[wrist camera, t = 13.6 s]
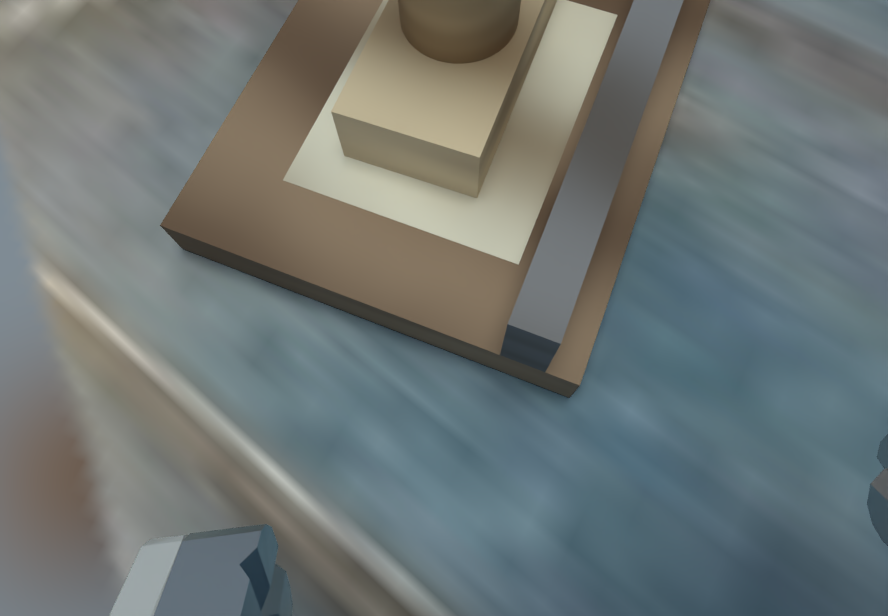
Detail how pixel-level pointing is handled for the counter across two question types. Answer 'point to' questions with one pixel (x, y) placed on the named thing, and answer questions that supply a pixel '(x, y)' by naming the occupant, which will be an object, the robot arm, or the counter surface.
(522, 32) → the stamp
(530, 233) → the board
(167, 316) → the counter surface
